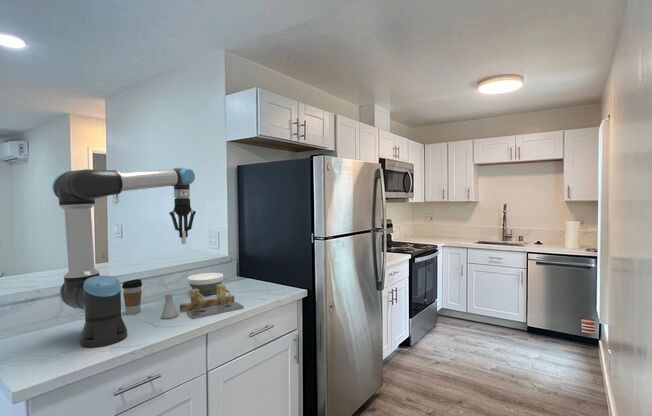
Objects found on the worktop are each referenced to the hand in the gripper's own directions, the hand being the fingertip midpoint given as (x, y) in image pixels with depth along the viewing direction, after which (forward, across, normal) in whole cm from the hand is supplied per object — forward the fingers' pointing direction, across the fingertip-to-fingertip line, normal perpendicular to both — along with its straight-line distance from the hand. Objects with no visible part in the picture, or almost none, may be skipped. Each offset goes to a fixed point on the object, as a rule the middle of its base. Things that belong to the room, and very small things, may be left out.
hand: (183, 243), depth 182 cm
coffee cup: (+31, -24, 0) cm, 39 cm away
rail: (+30, +7, -18) cm, 36 cm away
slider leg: (+30, +14, -18) cm, 38 cm away
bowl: (+31, +15, +14) cm, 37 cm away
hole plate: (+30, +7, -25) cm, 40 cm away
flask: (+31, -12, -19) cm, 38 cm away
